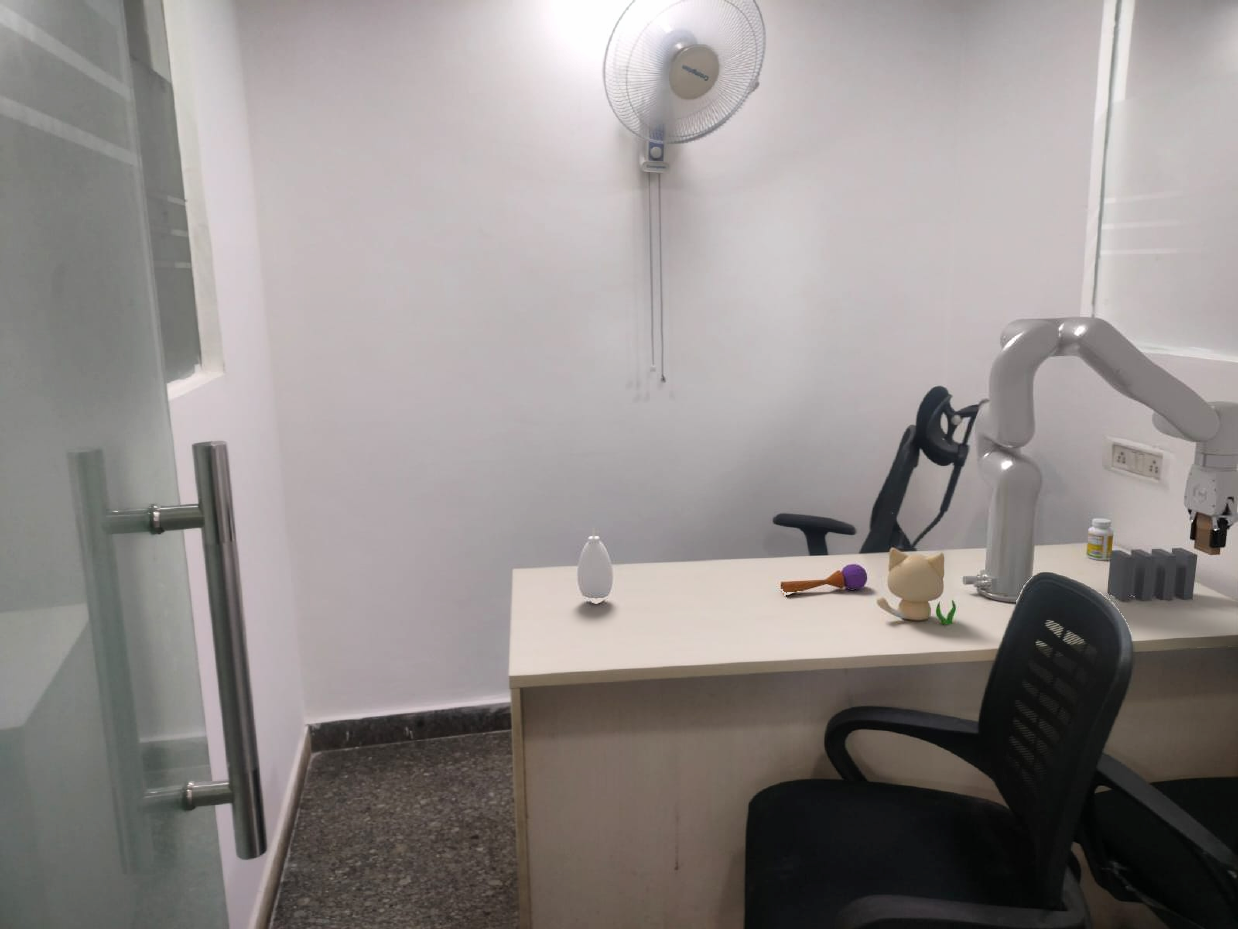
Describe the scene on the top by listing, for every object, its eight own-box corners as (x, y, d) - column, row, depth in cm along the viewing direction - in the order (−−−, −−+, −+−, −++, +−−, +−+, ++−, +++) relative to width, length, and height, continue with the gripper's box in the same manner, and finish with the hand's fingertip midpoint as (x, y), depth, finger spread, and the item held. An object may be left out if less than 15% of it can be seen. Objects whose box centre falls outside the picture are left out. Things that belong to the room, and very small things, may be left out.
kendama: (777, 574, 188) (858, 560, 191) (780, 599, 188) (861, 585, 191) (786, 577, 182) (869, 563, 185) (789, 604, 182) (873, 589, 185)
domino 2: (1141, 601, 176) (1146, 556, 174) (1127, 593, 180) (1131, 549, 178) (1151, 601, 176) (1155, 556, 174) (1136, 592, 180) (1140, 549, 179)
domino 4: (1183, 599, 176) (1188, 555, 174) (1167, 591, 181) (1172, 548, 179) (1192, 599, 176) (1197, 554, 174) (1176, 591, 181) (1181, 547, 179)
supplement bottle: (1104, 554, 207) (1108, 517, 205) (1115, 561, 202) (1118, 523, 200) (1082, 554, 208) (1085, 517, 206) (1092, 561, 202) (1095, 523, 200)
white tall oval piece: (585, 595, 189) (582, 520, 185) (617, 598, 187) (615, 521, 183) (574, 607, 181) (570, 529, 178) (607, 610, 179) (605, 531, 176)
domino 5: (1210, 555, 174) (1215, 509, 172) (1193, 548, 179) (1198, 503, 177) (1219, 554, 174) (1224, 509, 172) (1202, 547, 179) (1207, 503, 177)
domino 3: (1162, 600, 176) (1167, 555, 174) (1147, 592, 181) (1151, 549, 179) (1171, 600, 176) (1176, 555, 174) (1156, 592, 181) (1160, 548, 179)
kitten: (957, 614, 171) (960, 545, 168) (953, 632, 162) (956, 560, 160) (883, 605, 178) (885, 538, 175) (875, 621, 169) (877, 551, 166)
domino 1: (1121, 602, 175) (1125, 557, 174) (1106, 594, 180) (1111, 550, 178) (1130, 601, 176) (1134, 557, 174) (1115, 593, 180) (1120, 550, 178)
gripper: (1170, 454, 181) (1163, 533, 184) (1228, 469, 164) (1219, 556, 168) (1204, 452, 181) (1196, 532, 184) (1265, 467, 164) (1255, 554, 168)
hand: (1207, 542), depth 176 cm, fingers closed on domino 5, 4 cm apart
